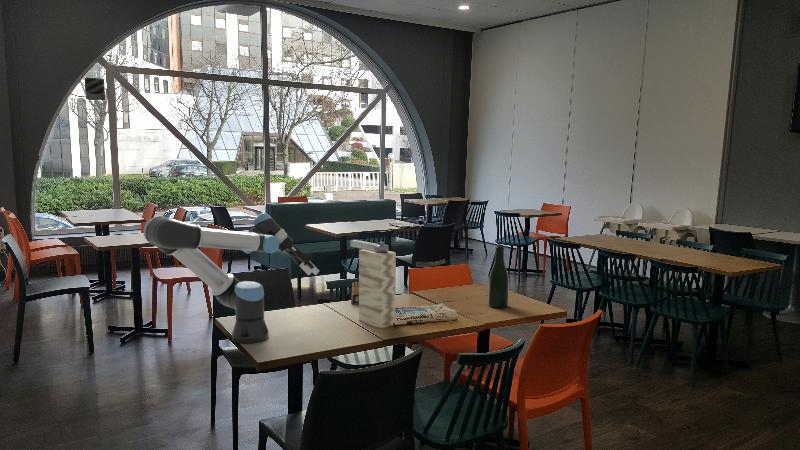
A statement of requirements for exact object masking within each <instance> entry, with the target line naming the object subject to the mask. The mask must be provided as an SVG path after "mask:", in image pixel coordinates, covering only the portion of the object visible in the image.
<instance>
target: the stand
mask: <svg viewBox="0 0 800 450" xmlns="http://www.w3.org/2000/svg"><path fill="white" fill-rule="evenodd" d="M396 256H397V253H396V252H395V251H390V250H388V252H387V253H375V252H374V251H370V250H365V249H359V250H358V283H359V304H358V322H359V321H360V322H361V323H365V324H367V325H370V326H373V327H376V328H377V329H383V328H387V327H391V326H394V325H393V322H395V323H396V287H397V286H396V284H397V283H396V280H397V278H396V275H397V274H396V273H397V271H396V269H397V267H396V266H397V264H396V263H397V262H396V261H397V257H396Z"/></svg>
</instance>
